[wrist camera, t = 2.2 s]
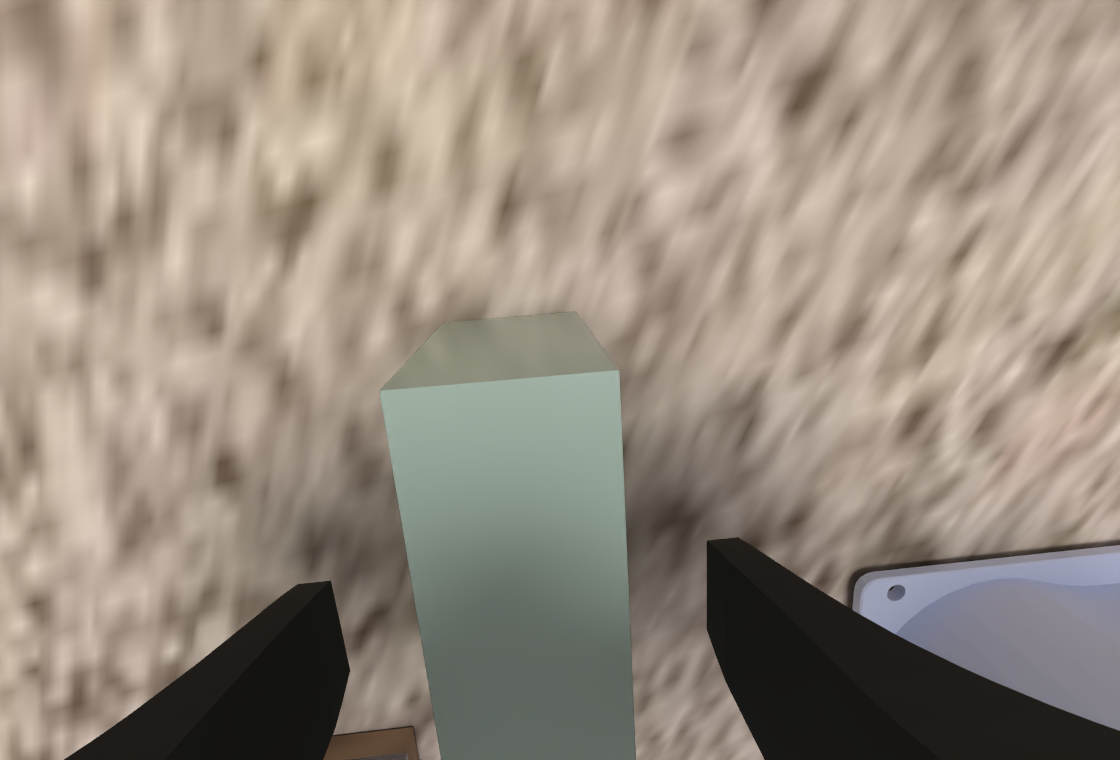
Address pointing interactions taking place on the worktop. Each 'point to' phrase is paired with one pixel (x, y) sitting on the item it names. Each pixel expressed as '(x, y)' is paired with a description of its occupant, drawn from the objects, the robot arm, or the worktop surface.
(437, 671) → the tall sage green block
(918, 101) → the worktop surface
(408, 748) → the rack
